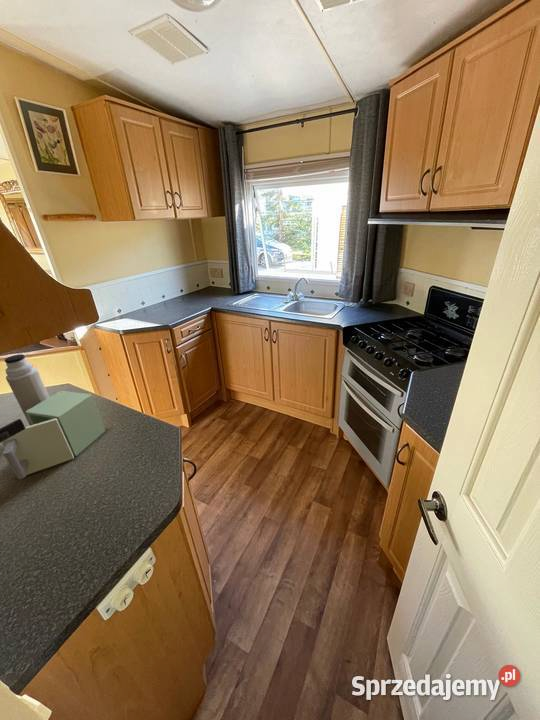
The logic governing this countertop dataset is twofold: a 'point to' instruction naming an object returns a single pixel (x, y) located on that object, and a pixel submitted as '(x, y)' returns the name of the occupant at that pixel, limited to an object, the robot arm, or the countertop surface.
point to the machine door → (37, 448)
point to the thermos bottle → (25, 383)
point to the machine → (70, 417)
